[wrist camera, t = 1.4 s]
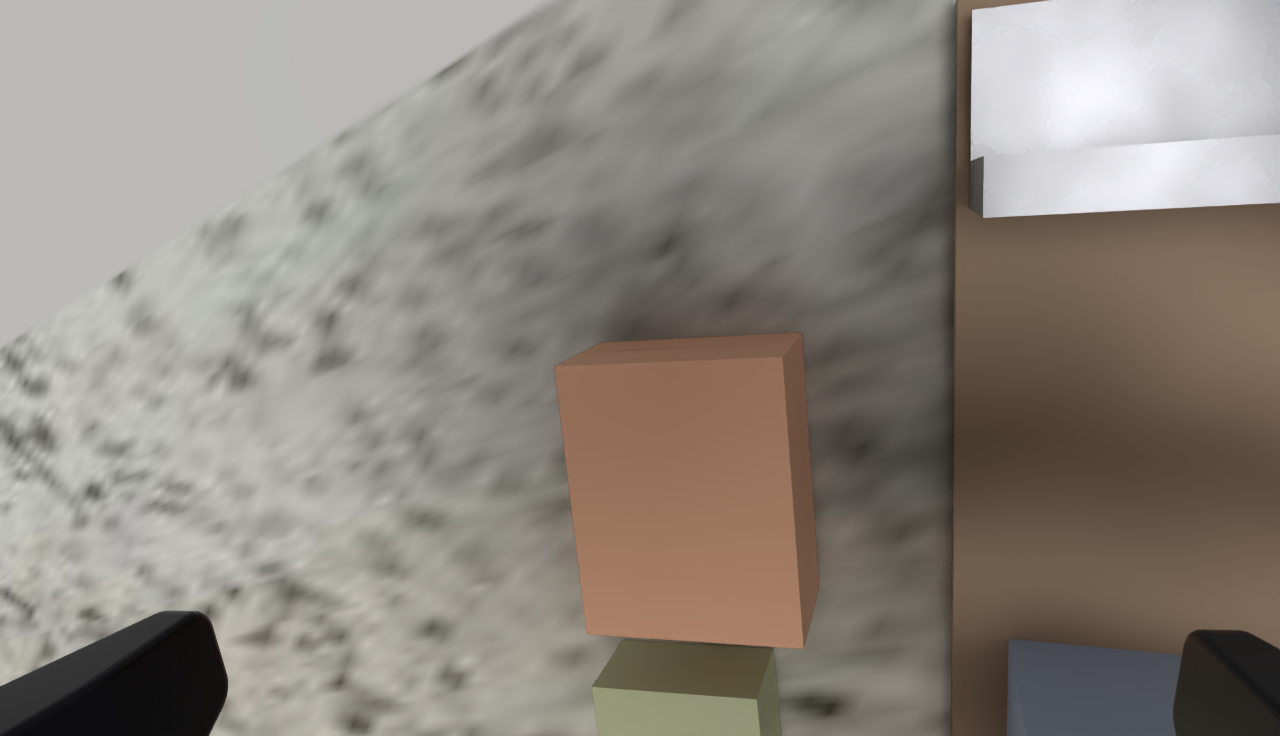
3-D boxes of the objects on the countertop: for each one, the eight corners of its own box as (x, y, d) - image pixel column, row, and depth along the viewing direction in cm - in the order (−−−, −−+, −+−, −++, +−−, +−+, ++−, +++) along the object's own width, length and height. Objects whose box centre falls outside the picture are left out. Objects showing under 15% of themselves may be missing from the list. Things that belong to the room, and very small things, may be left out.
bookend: (1420, 183, 16) (1618, 185, 12) (968, 208, 19) (982, 217, 14) (1445, -43, 15) (1668, -139, 11) (970, 15, 18) (986, -42, 13)
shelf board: (1324, 900, 21) (1455, 1137, 16) (950, 838, 23) (957, 1023, 18) (1426, -57, 16) (1652, -163, 11) (956, 3, 19) (967, -61, 14)
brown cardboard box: (820, 583, 23) (803, 648, 20) (630, 574, 25) (586, 634, 22) (803, 330, 22) (782, 356, 19) (604, 341, 24) (553, 366, 21)
